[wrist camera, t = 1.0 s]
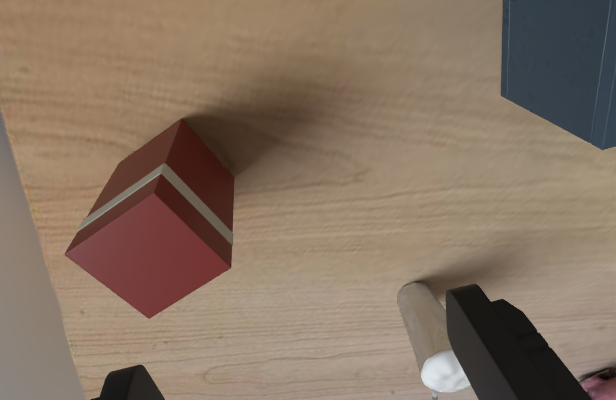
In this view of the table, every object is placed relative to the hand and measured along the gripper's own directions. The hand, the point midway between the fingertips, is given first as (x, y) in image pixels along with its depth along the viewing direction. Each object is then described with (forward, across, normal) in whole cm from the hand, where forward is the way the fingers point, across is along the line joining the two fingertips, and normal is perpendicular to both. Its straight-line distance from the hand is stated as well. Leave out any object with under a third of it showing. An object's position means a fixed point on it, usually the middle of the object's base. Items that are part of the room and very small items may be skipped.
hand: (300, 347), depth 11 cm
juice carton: (+20, +7, +3) cm, 21 cm away
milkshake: (+20, -9, +20) cm, 30 cm away
